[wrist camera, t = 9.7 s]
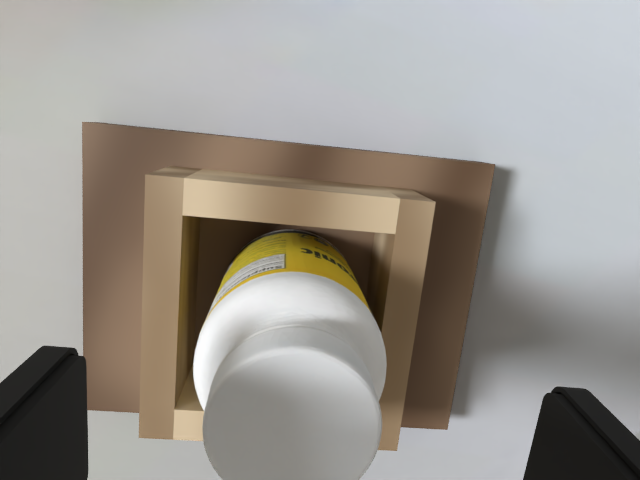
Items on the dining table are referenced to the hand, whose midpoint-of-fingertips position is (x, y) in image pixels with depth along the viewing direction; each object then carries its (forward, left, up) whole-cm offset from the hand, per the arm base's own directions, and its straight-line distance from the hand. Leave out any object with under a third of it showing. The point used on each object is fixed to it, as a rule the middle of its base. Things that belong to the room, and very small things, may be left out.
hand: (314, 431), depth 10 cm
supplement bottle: (0, +1, -11) cm, 11 cm away
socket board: (+1, +1, -12) cm, 12 cm away
